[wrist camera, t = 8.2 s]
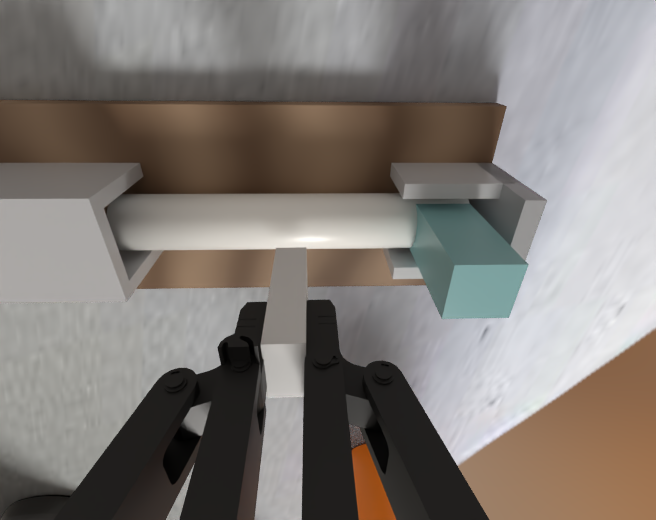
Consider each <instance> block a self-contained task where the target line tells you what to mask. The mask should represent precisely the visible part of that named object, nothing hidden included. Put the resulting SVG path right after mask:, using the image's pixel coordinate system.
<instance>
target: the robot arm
mask: <svg viewBox="0 0 656 520" xmlns="http://www.w3.org/2000/svg"><path fill="white" fill-rule="evenodd" d="M218 352H219V357H220V361H221V365H220V366H219V367H217V368H215V369H213V370H210V371H207V372H204V373H200V374H197V375H196V374H195V372H194V371H193V370H191V369H188V368H177V369H174V370H171V371H169V372H167V373H165V374H164V375H162V376H161V377H160V378H159V379H158V380H157V382H156V383H155V384H154V386H153V387H152V388H151V390H150V391H149V392H148V394H147V395H146V397H145V398H144V399H143V401H142V402H141V403H140V405H139V406H138V407H137V409H136V410H135V411H134V413H133V414H132V415H131V417H130V418H129V419H128V421H127V422H126V423H125V425H124V426H123V427H122V429H121V430H120V431H119V433H118V434H117V435H116V437H115V438H114V439H113V441H112V442H111V443H110V445H109V446H108V447H107V449H106V450H105V451H104V453H103V454H102V455H101V457H100V458H99V459H98V461H97V462H96V463H95V465H94V466H93V467H92V469H91V470H90V471H89V473H88V474H87V475H86V477H85V478H84V479H83V481H82V482H81V483H80V485H79V486H78V487H77V489H76V490H75V491H74V493H73V494H72V495H71V497H62V496H42V497H33V498H28V499H24V500H21V501H18V502H16V503H14V504H12V505H11V506H10V507H8V509H7V510H6V511H5V513H4V514H3V516H2V518H1V519H0V520H166V518H167V516H168V514H169V512H170V510H171V508H172V506H173V504H174V502H175V500H176V498H177V496H178V494H179V492H180V490H181V488H182V486H183V484H184V483H185V481H186V479H187V477H188V475H189V473H190V471H191V469H192V467H193V465H194V468H193V472H192V475H191V479H190V483H189V487H188V490H187V494H186V498H185V501H184V505H183V509H182V513H181V516H180V520H254V517H255V508H256V499H257V490H258V481H259V472H260V463H261V454H262V445H263V436H264V427H265V418H266V406H265V399H266V392H267V398H284V397H304V415H303V479H302V520H359V517H358V508H357V498H356V488H355V479H354V469H353V460H352V450H351V441H350V431H349V424H351V425H355V426H358V427H360V430H361V432H362V435H363V437H364V440H365V442H366V445H367V447H368V450H369V452H370V455H371V457H372V460H373V462H374V465H375V467H376V470H377V472H378V475H379V477H380V480H381V482H382V485H383V487H384V490H385V492H386V495H387V497H388V500H389V502H390V505H391V507H392V510H393V512H394V515H395V517H396V520H489V518H488V517H487V515H486V513H485V512H484V510H483V508H482V507H481V505H480V503H479V502H478V500H477V498H476V497H475V495H474V493H473V492H472V490H471V488H470V487H469V485H468V483H467V481H466V480H465V478H464V477H463V475H462V473H461V471H460V470H459V468H458V466H457V465H456V463H455V461H454V460H453V458H452V456H451V455H450V453H449V451H448V450H447V448H446V446H445V444H444V443H443V441H442V439H441V438H440V436H439V434H438V433H437V431H436V429H435V428H434V426H433V424H432V423H431V421H430V419H429V418H428V416H427V414H426V413H425V411H424V409H423V407H422V406H421V404H420V402H419V401H418V399H417V397H416V396H415V394H414V392H413V391H412V389H411V387H410V386H409V384H408V382H407V381H406V379H405V377H404V376H403V374H402V372H401V371H400V370H399V369H398V367H397V366H395V365H394V364H392V363H390V362H386V361H375V362H372V363H370V364H368V366H367V367H366V368H365V367H361V366H357V365H354V364H351V363H350V362H348V361H346V360H345V359H344V358H343V356H342V355H341V353H340V349H339V340H338V330H337V321H336V311H335V306H334V305H333V304H332V302H331V301H330V300H308V284H307V247H297V248H276V251H275V257H274V263H273V270H272V276H271V282H270V288H269V295H268V301H267V302H247V303H246V305H245V306H244V307H243V308H242V309H241V310H240V314H239V318H238V322H237V327H236V330H235V334H233V335H231V336H228V337H226V338H225V339H224V340H223V341H221V342H220V344H219V346H218ZM194 463H195V464H194Z"/></svg>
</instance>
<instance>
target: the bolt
mask: <svg viewBox="0 0 656 520" xmlns="http://www.w3.org/2000/svg"><path fill="white" fill-rule="evenodd" d="M106 216H107V219H108V222H109V225H110V228H111V230H112V233H113V236H114V239H115V242H116V245H117V247H118V249H120V250H123V251H131V250H247V249H276V248H297V247H307V249H364V248H409V249H410V251H411V253H412V255H413V257H414V260H415V262H416V264H417V266H418V268H419V270H420V273H421V275H422V277H423V279H424V281H425V283H426V286H427V288H428V290H429V292H430V294H431V296H432V299H433V301H434V303H435V305H436V307H437V309H438V311H439V314H440V316H441V318H442V319H458V318H509V316H510V313H511V310H512V308H513V305H514V302H515V300H516V297H517V294H518V291H519V289H520V286H521V283H522V281H523V278H524V275H525V272H526V270H527V267H528V263H527V262H526V261H525V260H524V259H523V258H522V257H521V256H520V255H519V254H518V253H517V252H516V251H515V250H514V249H513V248H512V247H511V246H510V245H509V244H508V243H507V242H506V241H505V240H504V239H503V237H502V236H501V235H500V234H499V233H498V232H497V231H496V230H495V229H494V228H493V227H492V226H491V225H490V224H489V223H488V222H487V221H486V220H485V219H484V218H483V217H482V216H481V215H480V214H479V213H478V212H477V211H476V209H475V208H474V207H473V206H472V205H471V204H470V203H469V200H468V199H403V198H402V196H401V194H400V193H305V194H121V195H120V196H118V197H117V198H116V199H115V200H113V201H112V202H111V203H110V204H109V205H108V208H107V215H106Z"/></svg>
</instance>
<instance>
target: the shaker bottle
mask: <svg viewBox="0 0 656 520" xmlns="http://www.w3.org/2000/svg"><path fill="white" fill-rule="evenodd" d="M352 460H353V469H354V479H355V488H356V498H357V508H358V517H359V520H396V517H395V515H394V512H393V510H392V507H391V505H390V502H389V500H388V497H387V495H386V492H385V490H384V487H383V485H382V482H381V480H380V477H379V475H378V472H377V470H376V467H375V465H374V462H373V460H372V457H371V455H370V452H369V450H368V447H367V445H366V444H362V445H360V446H357V447H355V448H354V449H352Z"/></svg>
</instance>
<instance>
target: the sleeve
mask: <svg viewBox="0 0 656 520" xmlns="http://www.w3.org/2000/svg"><path fill="white" fill-rule="evenodd" d="M142 177H143V173H142V169H141V165H140V163H0V304H7V303H81V302H127V301H128V300H129V298H130V297H131V295H132V294H133V293H134V291H135V290H136V288H137V287H138V286H139V284H140V283H141V281H142V280H143V279H144V277H145V276H146V274H147V273H148V272H149V270H150V269H151V267H152V266H153V265H154V263H155V262H156V260H157V259H158V258H159V256H160V255H161V253H162V252H163V251H164V250H131V251H123V250H120V249H118V247H117V245H116V242H115V239H114V236H113V233H112V230H111V228H110V225H109V222H108V219H107V216H106V213H105V210H104V207H106V206H107V205H108V204H110V203H111V202H112V201H113V200H115V199H116V198H117V197H118V196H120V195H121V194H122V193H123V192H125V191H126V190H127V189H128V188H130V187H131V186H132V185H133V184H135V183H136V182H137V181H138V180H140V179H141V178H142Z"/></svg>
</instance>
